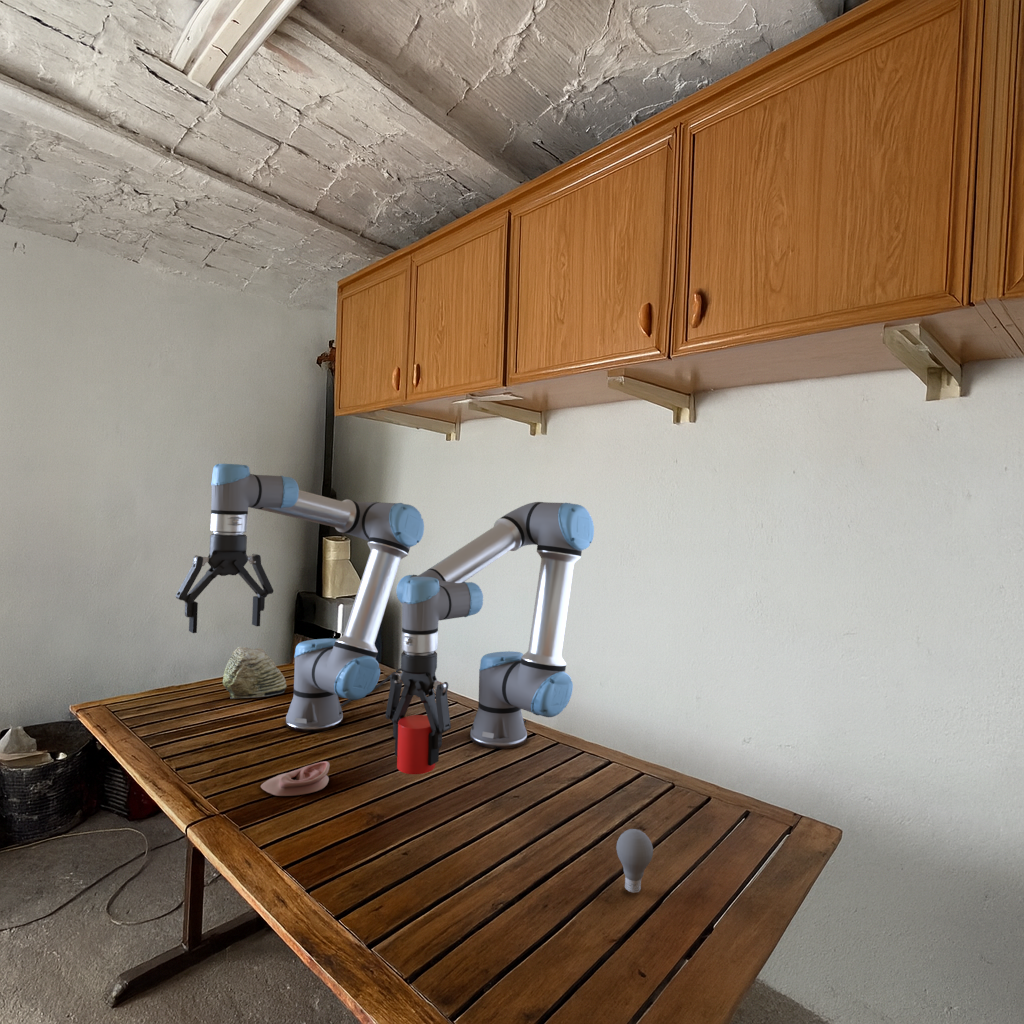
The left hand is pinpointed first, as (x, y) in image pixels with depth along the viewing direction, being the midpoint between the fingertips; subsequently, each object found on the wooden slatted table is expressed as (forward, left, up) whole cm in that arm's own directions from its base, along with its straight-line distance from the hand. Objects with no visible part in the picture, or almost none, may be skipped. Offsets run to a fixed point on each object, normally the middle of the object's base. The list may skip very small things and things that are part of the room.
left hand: (225, 628), depth 141 cm
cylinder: (-22, +40, -26) cm, 52 cm away
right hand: (-22, +40, -24) cm, 51 cm away
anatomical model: (-9, +16, -33) cm, 38 cm away
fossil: (-34, -47, -33) cm, 67 cm away
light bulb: (-25, +89, -33) cm, 99 cm away
